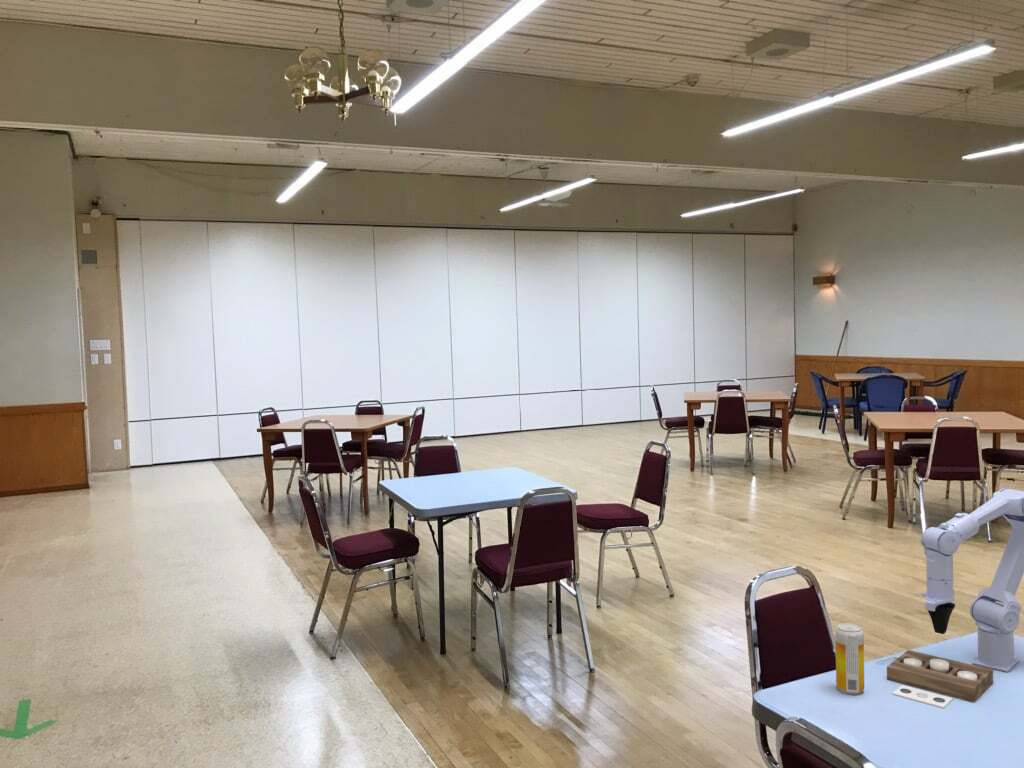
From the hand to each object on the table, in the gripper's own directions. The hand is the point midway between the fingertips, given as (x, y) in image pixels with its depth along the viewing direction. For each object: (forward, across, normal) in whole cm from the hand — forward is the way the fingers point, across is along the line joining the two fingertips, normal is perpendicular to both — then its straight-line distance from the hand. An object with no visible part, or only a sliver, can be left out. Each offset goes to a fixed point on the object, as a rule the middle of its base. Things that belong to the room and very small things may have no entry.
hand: (940, 632), depth 196 cm
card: (+10, +17, +2) cm, 20 cm away
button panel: (+10, +6, +2) cm, 11 cm away
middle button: (+8, +5, +1) cm, 10 cm away
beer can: (+10, +24, -12) cm, 29 cm away
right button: (+9, +5, +7) cm, 13 cm away
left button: (+9, +5, -5) cm, 12 cm away
